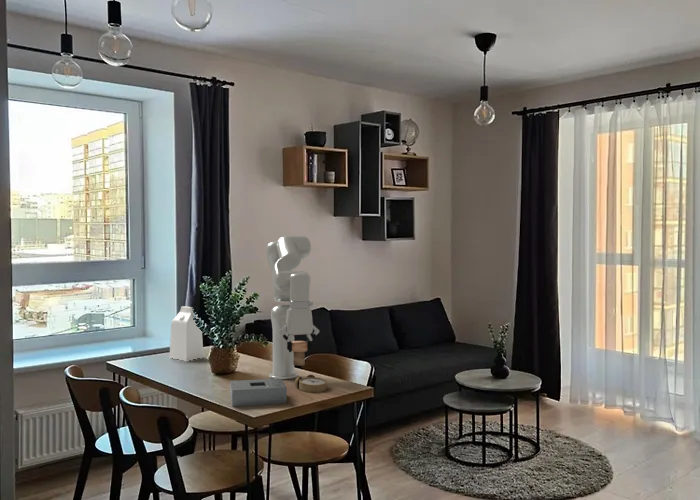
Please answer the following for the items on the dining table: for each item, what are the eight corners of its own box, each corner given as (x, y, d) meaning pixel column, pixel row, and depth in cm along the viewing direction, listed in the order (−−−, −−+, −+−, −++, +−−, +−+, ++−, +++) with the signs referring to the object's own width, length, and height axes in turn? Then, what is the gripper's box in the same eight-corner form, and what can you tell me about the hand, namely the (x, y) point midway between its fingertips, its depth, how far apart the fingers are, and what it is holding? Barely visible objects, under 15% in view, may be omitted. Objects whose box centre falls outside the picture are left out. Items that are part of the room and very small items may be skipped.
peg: (289, 362, 252) (289, 341, 252) (305, 362, 254) (306, 340, 254) (291, 366, 246) (292, 344, 246) (308, 365, 248) (309, 343, 247)
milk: (203, 357, 327) (203, 306, 326) (186, 361, 317) (186, 308, 316) (186, 355, 333) (186, 305, 332) (169, 358, 323) (169, 307, 323)
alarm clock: (311, 387, 256) (289, 373, 267) (309, 398, 256) (287, 385, 267) (332, 382, 263) (310, 370, 274) (331, 394, 264) (309, 381, 275)
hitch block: (229, 396, 251) (229, 380, 251) (281, 393, 256) (281, 378, 256) (232, 406, 236) (232, 390, 236) (286, 403, 241) (286, 387, 241)
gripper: (319, 303, 255) (319, 348, 255) (275, 304, 251) (275, 350, 251) (323, 306, 247) (323, 352, 248) (278, 307, 243) (278, 354, 244)
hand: (299, 350), depth 250 cm, fingers closed on peg, 6 cm apart
